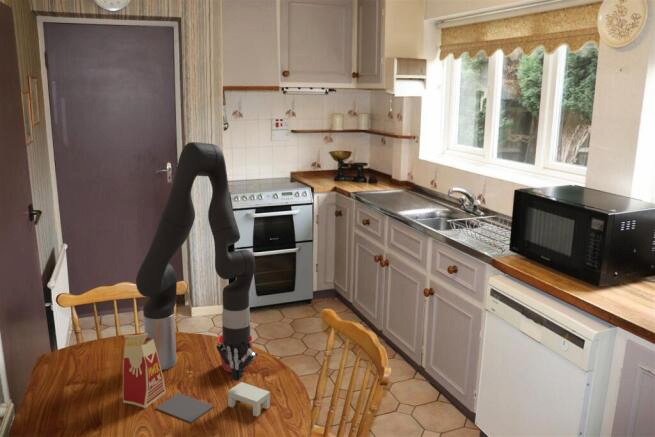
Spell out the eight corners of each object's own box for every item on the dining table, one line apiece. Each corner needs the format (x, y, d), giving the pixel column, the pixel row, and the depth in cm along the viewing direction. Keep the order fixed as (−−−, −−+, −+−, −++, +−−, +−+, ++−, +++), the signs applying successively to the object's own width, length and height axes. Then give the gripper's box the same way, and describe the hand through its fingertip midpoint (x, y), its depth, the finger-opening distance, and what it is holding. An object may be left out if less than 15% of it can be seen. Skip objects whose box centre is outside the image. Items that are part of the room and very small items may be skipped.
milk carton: (166, 392, 166) (163, 328, 162) (146, 408, 158) (142, 341, 153) (139, 386, 169) (135, 323, 165) (118, 402, 161) (114, 336, 156)
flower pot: (246, 377, 176) (246, 347, 174) (212, 372, 178) (211, 343, 176) (257, 361, 186) (257, 333, 184) (225, 357, 188) (224, 329, 186)
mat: (155, 408, 158) (155, 407, 158) (178, 394, 165) (178, 392, 165) (191, 423, 152) (191, 421, 151) (213, 407, 159) (213, 405, 159)
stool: (227, 391, 159) (256, 401, 154) (241, 381, 164) (269, 391, 159) (228, 406, 160) (256, 417, 155) (241, 396, 165) (270, 406, 160)
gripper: (208, 321, 156) (210, 379, 160) (247, 332, 150) (247, 392, 154) (226, 312, 163) (227, 368, 167) (264, 322, 156) (264, 380, 160)
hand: (237, 379), depth 160 cm, fingers closed
